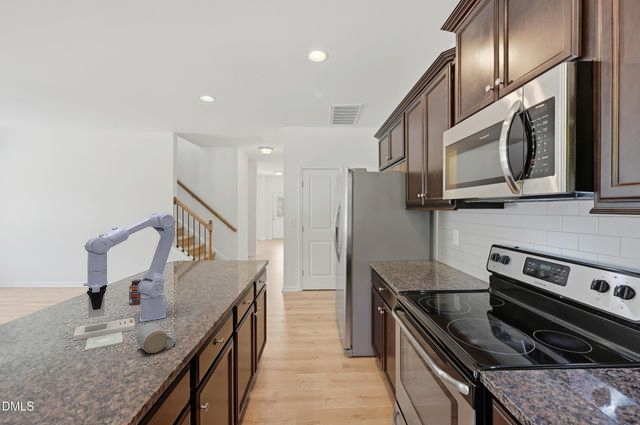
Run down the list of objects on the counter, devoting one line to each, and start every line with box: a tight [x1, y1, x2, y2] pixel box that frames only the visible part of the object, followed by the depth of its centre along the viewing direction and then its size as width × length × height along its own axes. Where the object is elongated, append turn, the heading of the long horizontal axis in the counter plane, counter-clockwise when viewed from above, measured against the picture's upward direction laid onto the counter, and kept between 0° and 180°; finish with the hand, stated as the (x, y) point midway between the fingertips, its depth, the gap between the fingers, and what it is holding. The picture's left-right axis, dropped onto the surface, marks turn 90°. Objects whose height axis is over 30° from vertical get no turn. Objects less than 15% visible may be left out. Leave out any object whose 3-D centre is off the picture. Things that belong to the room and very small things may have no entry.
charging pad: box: [84, 332, 123, 352], centre depth 102 cm, size 10×10×1 cm
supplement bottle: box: [128, 278, 142, 306], centre depth 145 cm, size 6×6×11 cm
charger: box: [87, 293, 106, 319], centre depth 109 cm, size 4×4×7 cm
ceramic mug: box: [136, 322, 177, 354], centre depth 98 cm, size 11×8×8 cm
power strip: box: [72, 317, 136, 341], centre depth 112 cm, size 18×10×2 cm, turn 124°
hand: (97, 307), depth 109 cm, fingers closed on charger, 4 cm apart
